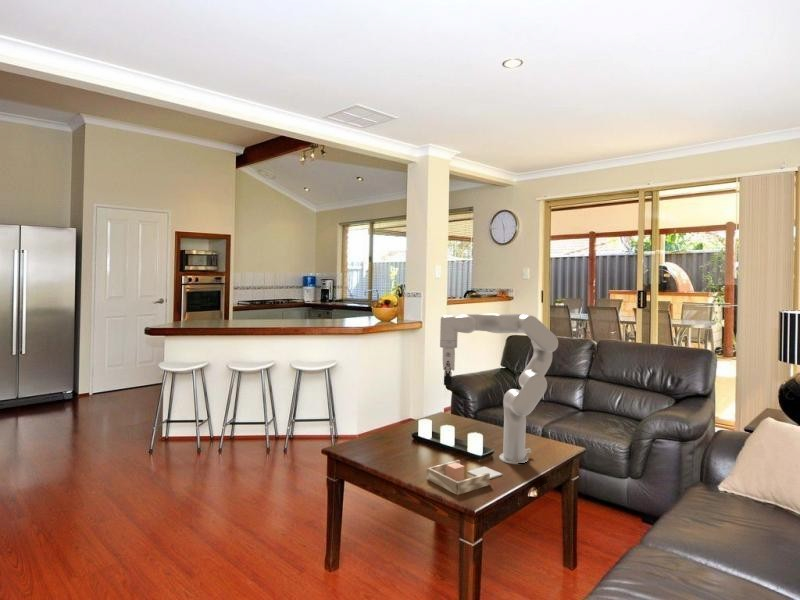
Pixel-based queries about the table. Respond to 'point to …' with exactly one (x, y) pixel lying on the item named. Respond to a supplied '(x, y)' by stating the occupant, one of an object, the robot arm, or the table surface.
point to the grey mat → (484, 472)
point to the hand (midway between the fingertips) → (447, 382)
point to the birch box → (439, 478)
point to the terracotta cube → (455, 471)
